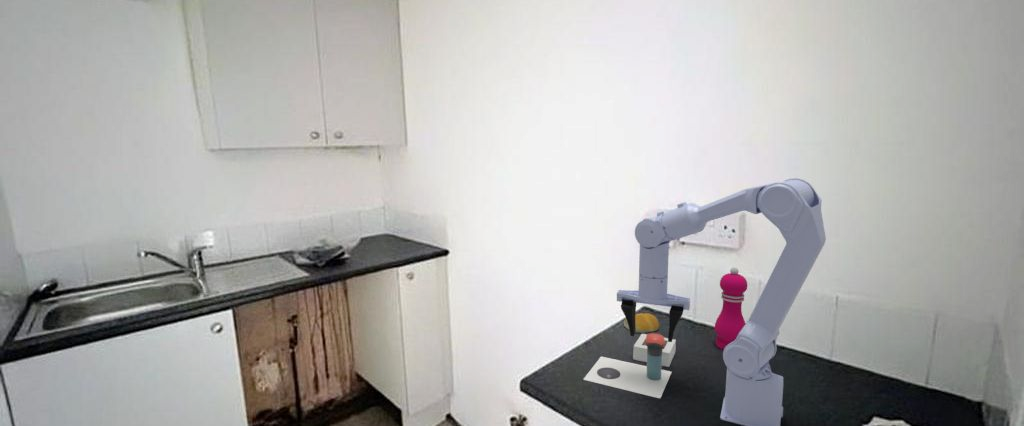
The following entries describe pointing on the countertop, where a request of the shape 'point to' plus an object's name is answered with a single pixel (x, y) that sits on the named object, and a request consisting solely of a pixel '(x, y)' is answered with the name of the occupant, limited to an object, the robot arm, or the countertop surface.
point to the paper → (627, 377)
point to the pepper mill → (730, 308)
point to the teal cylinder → (654, 361)
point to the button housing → (641, 350)
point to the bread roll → (644, 323)
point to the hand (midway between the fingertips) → (651, 337)
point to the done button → (655, 339)
